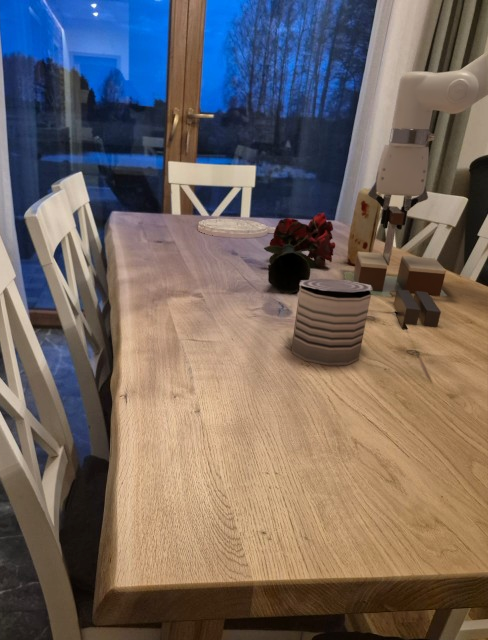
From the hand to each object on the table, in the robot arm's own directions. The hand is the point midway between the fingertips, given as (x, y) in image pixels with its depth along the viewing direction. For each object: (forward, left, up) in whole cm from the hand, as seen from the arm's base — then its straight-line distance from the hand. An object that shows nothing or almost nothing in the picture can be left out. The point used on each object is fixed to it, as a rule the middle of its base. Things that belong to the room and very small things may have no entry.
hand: (391, 227), depth 130 cm
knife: (0, 0, -8) cm, 8 cm away
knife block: (-4, +23, -14) cm, 27 cm away
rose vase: (+20, -4, -14) cm, 25 cm away
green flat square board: (-3, 0, -14) cm, 14 cm away
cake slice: (+3, 0, -13) cm, 14 cm away
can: (+14, +48, -14) cm, 52 cm away
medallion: (+41, -60, -14) cm, 74 cm away
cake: (-8, 0, -13) cm, 16 cm away
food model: (+4, -22, -14) cm, 27 cm away
